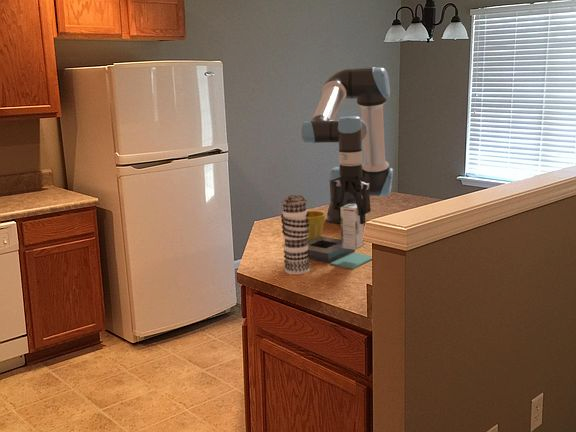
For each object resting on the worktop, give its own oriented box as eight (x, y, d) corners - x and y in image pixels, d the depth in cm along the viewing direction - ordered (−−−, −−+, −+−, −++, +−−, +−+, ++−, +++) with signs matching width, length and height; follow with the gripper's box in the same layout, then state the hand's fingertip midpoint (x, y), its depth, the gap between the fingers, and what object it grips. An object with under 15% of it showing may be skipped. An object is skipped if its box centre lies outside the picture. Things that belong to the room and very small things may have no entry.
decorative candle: (293, 264, 217) (290, 192, 211) (316, 268, 212) (313, 194, 206) (278, 272, 210) (274, 198, 204) (301, 276, 204) (298, 200, 198)
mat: (353, 254, 225) (353, 252, 224) (375, 258, 219) (375, 256, 219) (330, 264, 214) (330, 263, 214) (352, 269, 209) (352, 267, 208)
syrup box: (349, 243, 219) (348, 203, 216) (364, 245, 216) (363, 204, 212) (341, 248, 215) (339, 206, 211) (356, 250, 211) (355, 208, 208)
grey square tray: (319, 244, 238) (319, 235, 237) (355, 251, 228) (354, 242, 227) (292, 255, 226) (292, 246, 225) (328, 263, 216) (328, 253, 215)
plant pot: (321, 242, 241) (320, 217, 239) (295, 241, 244) (294, 216, 242) (329, 235, 250) (328, 211, 248) (304, 233, 254) (303, 210, 252)
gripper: (320, 163, 212) (323, 230, 217) (368, 167, 200) (370, 238, 205) (334, 160, 217) (336, 225, 223) (381, 164, 205) (382, 233, 211)
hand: (352, 231), depth 214 cm, fingers closed on syrup box, 6 cm apart
